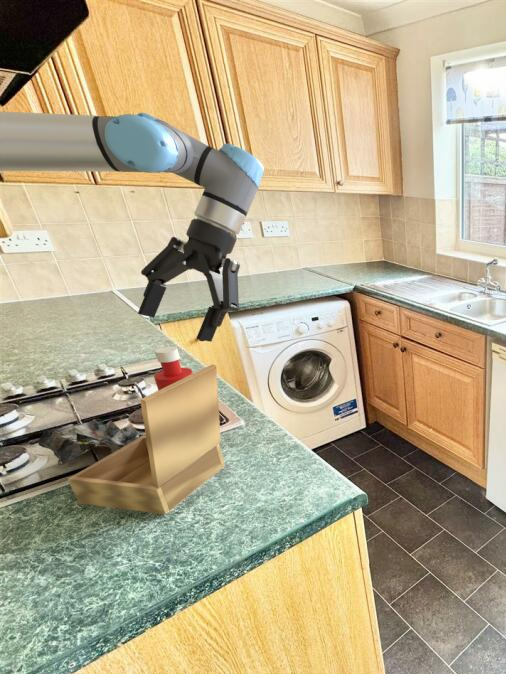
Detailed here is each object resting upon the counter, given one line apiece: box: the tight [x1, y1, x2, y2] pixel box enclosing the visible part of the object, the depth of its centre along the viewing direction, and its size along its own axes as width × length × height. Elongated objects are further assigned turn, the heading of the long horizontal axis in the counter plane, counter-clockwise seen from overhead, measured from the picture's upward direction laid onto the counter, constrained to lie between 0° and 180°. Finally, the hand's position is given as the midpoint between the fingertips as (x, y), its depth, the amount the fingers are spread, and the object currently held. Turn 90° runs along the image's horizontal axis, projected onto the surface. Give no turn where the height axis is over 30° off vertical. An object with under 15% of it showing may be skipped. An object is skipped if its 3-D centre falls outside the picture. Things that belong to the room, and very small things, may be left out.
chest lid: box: [140, 364, 222, 488], centre depth 69 cm, size 16×14×1 cm
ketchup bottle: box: [153, 346, 194, 391], centre depth 85 cm, size 6×6×21 cm
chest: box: [67, 435, 226, 515], centre depth 75 cm, size 16×14×6 cm
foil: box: [37, 418, 146, 466], centre depth 82 cm, size 12×11×15 cm
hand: (174, 327), depth 81 cm, fingers open, 13 cm apart
